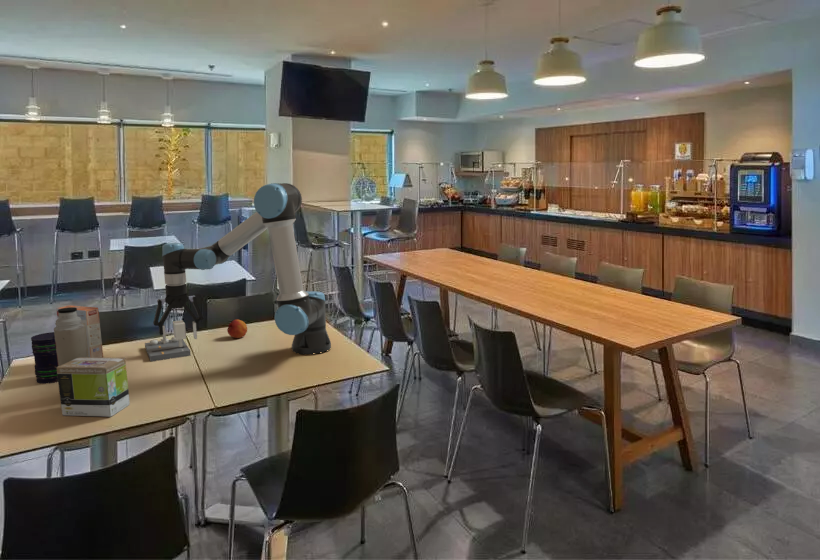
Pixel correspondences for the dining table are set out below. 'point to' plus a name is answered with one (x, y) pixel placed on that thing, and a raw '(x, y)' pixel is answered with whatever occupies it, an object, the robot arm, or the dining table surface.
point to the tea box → (93, 386)
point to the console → (166, 349)
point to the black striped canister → (45, 357)
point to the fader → (179, 331)
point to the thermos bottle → (69, 336)
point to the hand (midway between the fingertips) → (180, 340)
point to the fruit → (237, 329)
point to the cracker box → (90, 329)
